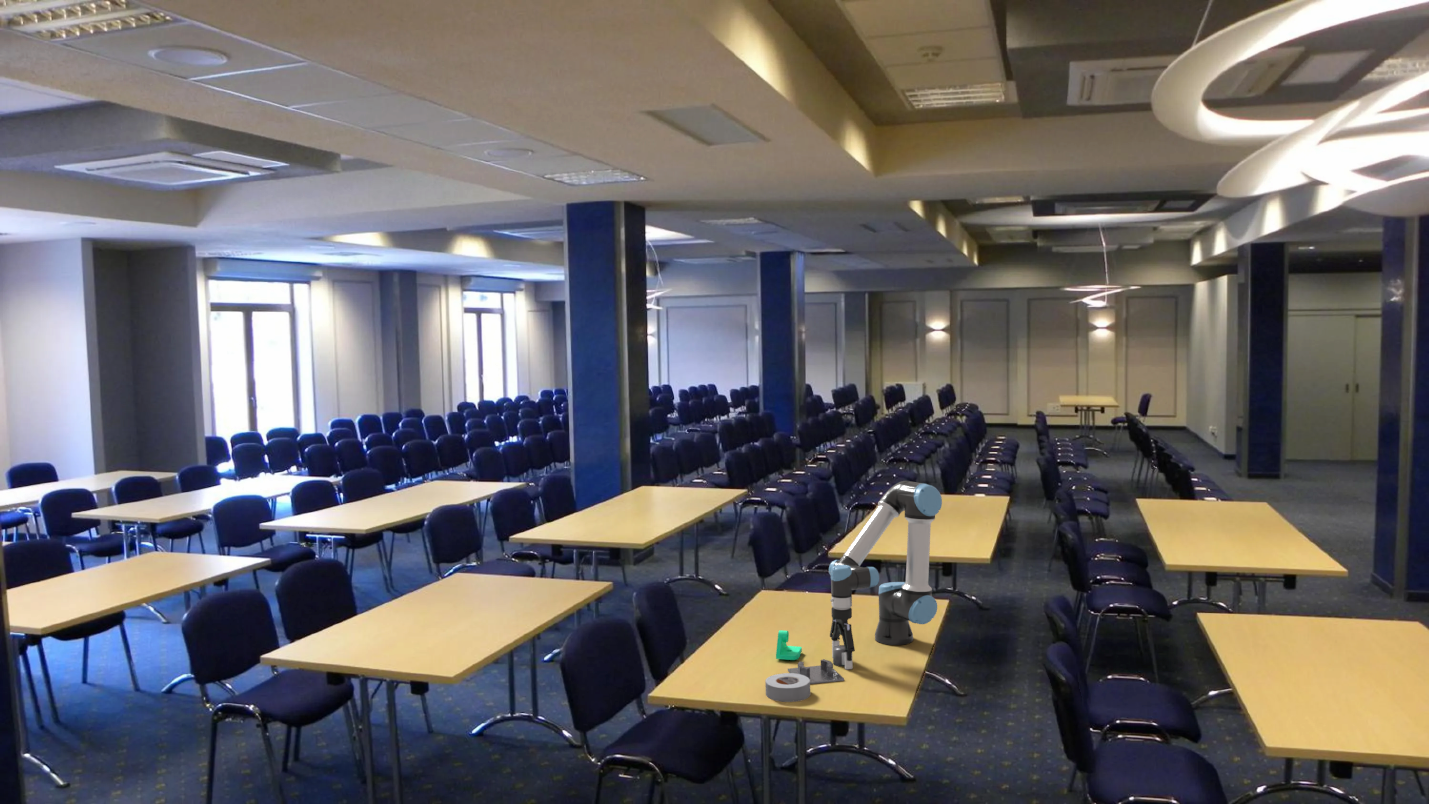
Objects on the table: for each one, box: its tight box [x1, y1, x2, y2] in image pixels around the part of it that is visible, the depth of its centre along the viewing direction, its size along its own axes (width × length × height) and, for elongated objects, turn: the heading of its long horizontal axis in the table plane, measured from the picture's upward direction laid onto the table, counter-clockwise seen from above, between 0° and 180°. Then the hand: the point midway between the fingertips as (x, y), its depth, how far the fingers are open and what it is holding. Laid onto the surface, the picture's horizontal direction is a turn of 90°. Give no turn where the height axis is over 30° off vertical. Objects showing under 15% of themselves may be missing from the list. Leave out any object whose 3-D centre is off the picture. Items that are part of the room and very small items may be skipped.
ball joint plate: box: [787, 658, 845, 685], centre depth 361 cm, size 16×16×4 cm
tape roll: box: [764, 672, 811, 703], centre depth 344 cm, size 15×15×5 cm
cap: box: [832, 644, 845, 668], centre depth 374 cm, size 7×8×6 cm
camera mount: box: [775, 629, 803, 661], centre depth 383 cm, size 12×8×10 cm, turn 163°
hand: (842, 663), depth 374 cm, fingers open, 13 cm apart
